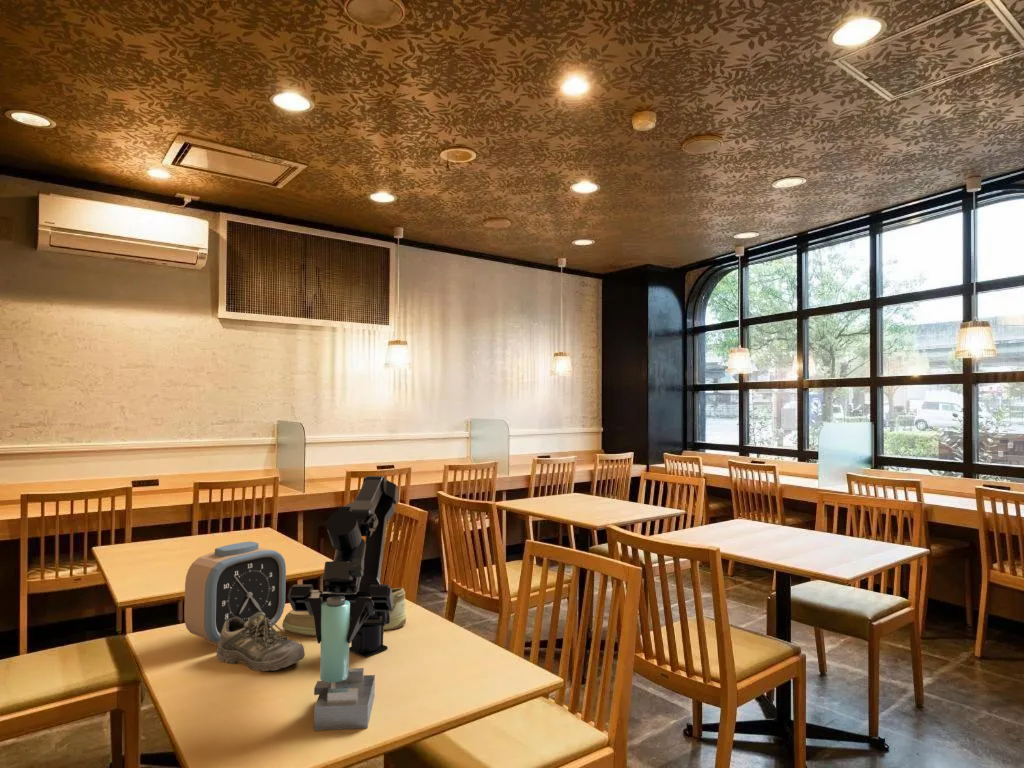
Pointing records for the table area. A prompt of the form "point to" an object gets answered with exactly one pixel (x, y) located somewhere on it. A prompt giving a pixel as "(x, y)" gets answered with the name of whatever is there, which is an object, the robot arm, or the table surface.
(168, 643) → the table surface
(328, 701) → the block
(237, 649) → the hiking shoe
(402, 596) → the boat shoe
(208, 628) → the alarm clock
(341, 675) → the bottle
